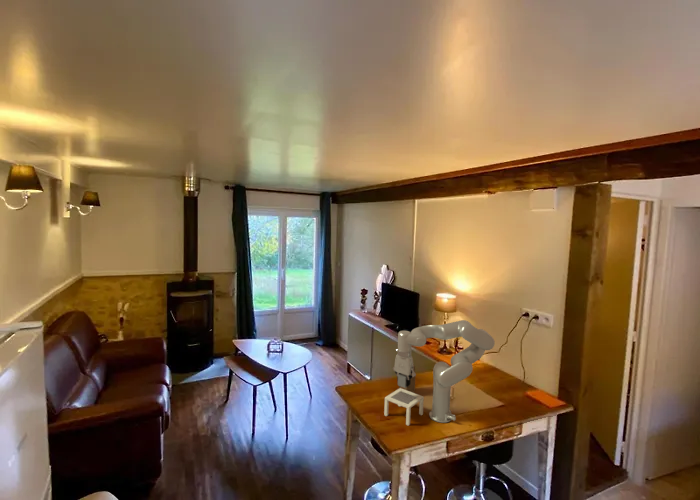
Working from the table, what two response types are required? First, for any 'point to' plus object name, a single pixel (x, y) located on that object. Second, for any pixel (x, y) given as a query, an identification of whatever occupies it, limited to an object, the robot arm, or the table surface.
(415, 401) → the frame
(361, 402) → the table surface
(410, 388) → the block
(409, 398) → the trapdoor
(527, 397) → the table surface
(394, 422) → the table surface
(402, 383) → the stone
